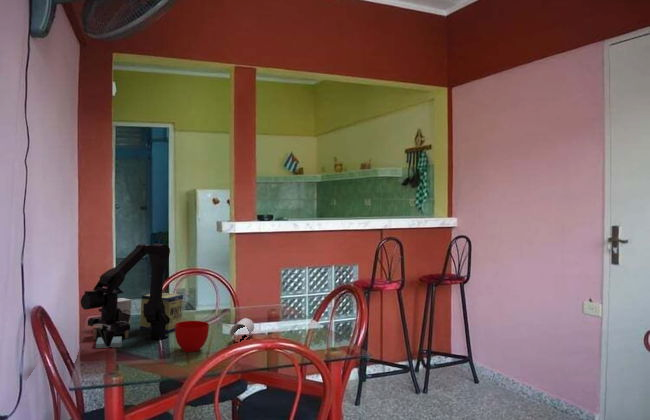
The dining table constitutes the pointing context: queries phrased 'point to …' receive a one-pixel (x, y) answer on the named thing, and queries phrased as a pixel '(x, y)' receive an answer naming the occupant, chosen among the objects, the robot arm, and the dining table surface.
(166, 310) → the protein box
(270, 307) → the dining table surface
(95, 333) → the low shelf
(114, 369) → the dining table surface
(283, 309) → the dining table surface
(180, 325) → the ceramic cup
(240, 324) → the white plastic bottle
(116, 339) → the grey-blue square plate
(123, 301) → the supplement box
